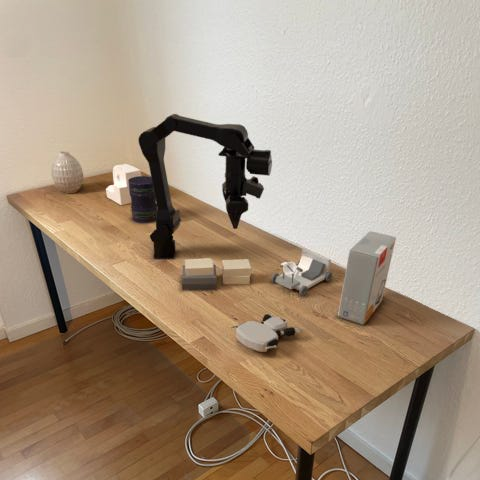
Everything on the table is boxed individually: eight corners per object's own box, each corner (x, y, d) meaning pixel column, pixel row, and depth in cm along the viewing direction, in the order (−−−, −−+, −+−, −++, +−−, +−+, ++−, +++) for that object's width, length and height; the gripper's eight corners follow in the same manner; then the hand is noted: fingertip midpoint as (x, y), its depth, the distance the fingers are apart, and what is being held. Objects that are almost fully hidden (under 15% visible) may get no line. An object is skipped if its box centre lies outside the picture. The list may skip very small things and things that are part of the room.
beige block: (222, 284, 143) (222, 269, 140) (222, 274, 149) (222, 259, 146) (250, 284, 144) (251, 269, 141) (249, 274, 149) (249, 259, 146)
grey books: (182, 290, 140) (181, 278, 138) (183, 276, 147) (182, 264, 145) (216, 290, 141) (216, 278, 138) (216, 276, 148) (216, 264, 146)
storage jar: (161, 215, 189) (158, 177, 181) (153, 224, 181) (150, 185, 173) (137, 212, 190) (133, 175, 182) (128, 222, 182) (123, 183, 174)
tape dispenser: (143, 199, 203) (140, 169, 196) (121, 205, 197) (117, 174, 190) (124, 190, 213) (121, 161, 206) (103, 194, 207) (98, 165, 200)
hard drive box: (364, 326, 126) (377, 257, 115) (336, 317, 130) (347, 250, 119) (382, 300, 137) (396, 236, 126) (357, 293, 141) (368, 229, 130)
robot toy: (266, 321, 129) (226, 340, 119) (268, 306, 126) (227, 325, 117) (302, 341, 122) (262, 363, 112) (304, 325, 119) (264, 347, 110)
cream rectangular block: (186, 276, 139) (185, 268, 137) (184, 267, 144) (184, 259, 142) (213, 275, 140) (213, 267, 138) (211, 265, 145) (211, 258, 143)
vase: (50, 190, 210) (42, 151, 201) (77, 184, 218) (70, 146, 209) (63, 198, 203) (55, 157, 194) (91, 191, 210) (85, 152, 201)
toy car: (298, 270, 131) (266, 256, 138) (295, 300, 136) (264, 286, 143) (336, 250, 142) (305, 238, 148) (331, 279, 147) (302, 267, 154)
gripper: (267, 182, 132) (264, 234, 141) (258, 162, 148) (255, 211, 156) (227, 182, 131) (226, 235, 140) (222, 162, 146) (221, 211, 155)
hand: (233, 222), depth 148 cm, fingers open, 9 cm apart
